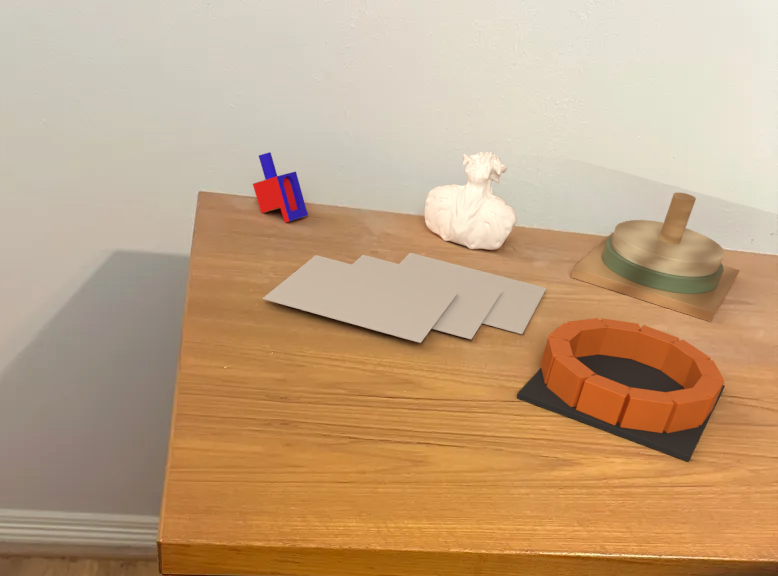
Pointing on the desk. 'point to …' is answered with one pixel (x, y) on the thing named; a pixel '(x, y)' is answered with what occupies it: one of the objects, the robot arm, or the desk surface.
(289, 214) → the toy building block
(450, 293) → the paper stack
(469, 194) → the bust
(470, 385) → the desk surface
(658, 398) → the orange ring
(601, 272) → the ring stack
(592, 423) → the mat
